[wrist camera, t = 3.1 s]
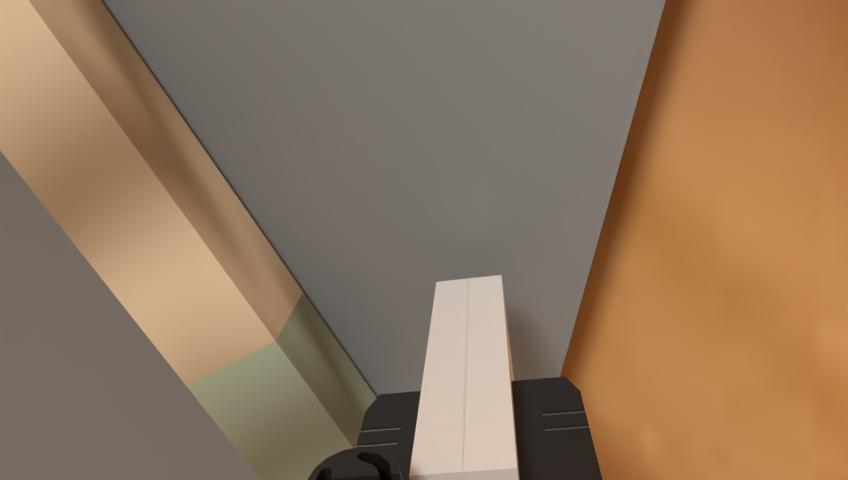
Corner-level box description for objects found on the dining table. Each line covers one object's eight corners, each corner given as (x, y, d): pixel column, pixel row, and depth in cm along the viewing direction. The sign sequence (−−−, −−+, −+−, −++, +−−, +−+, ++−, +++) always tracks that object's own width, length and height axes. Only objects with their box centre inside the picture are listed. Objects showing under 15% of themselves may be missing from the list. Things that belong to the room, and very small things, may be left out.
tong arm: (-71, -62, 15) (-175, -71, 12) (11, -129, 14) (-81, -152, 12) (309, 445, 19) (285, 511, 16) (385, 410, 18) (372, 473, 16)
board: (-328, -372, 14) (-397, -403, 13) (703, -190, 14) (723, -206, 13) (-169, 462, 22) (-203, 488, 21) (491, 587, 22) (491, 620, 21)
